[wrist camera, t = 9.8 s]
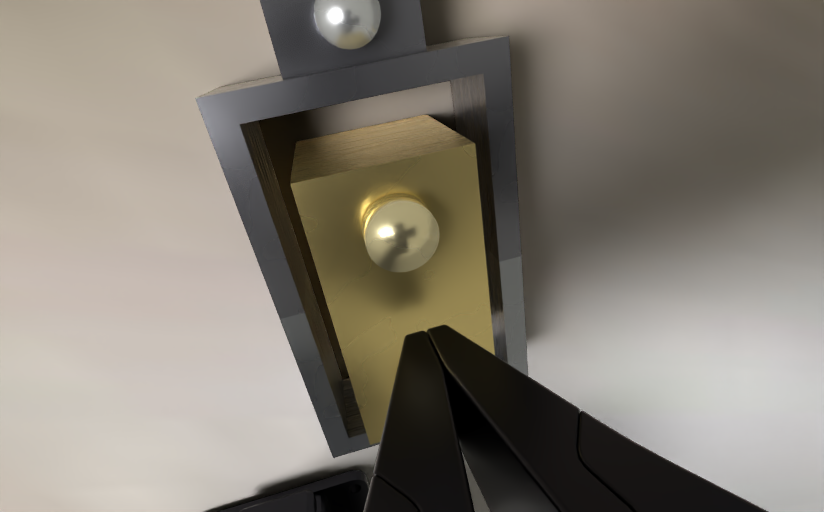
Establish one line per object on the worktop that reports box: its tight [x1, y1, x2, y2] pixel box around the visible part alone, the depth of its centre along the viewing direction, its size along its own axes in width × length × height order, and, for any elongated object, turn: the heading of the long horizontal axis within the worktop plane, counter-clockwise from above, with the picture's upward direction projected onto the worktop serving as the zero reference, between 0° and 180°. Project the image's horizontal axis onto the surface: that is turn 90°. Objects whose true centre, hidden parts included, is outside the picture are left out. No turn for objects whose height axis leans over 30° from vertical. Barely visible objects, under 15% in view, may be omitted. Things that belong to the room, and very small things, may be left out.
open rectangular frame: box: [195, 0, 528, 458], centre depth 11 cm, size 15×6×3 cm, turn 9°
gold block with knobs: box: [290, 115, 495, 445], centre depth 11 cm, size 7×4×5 cm, turn 9°
